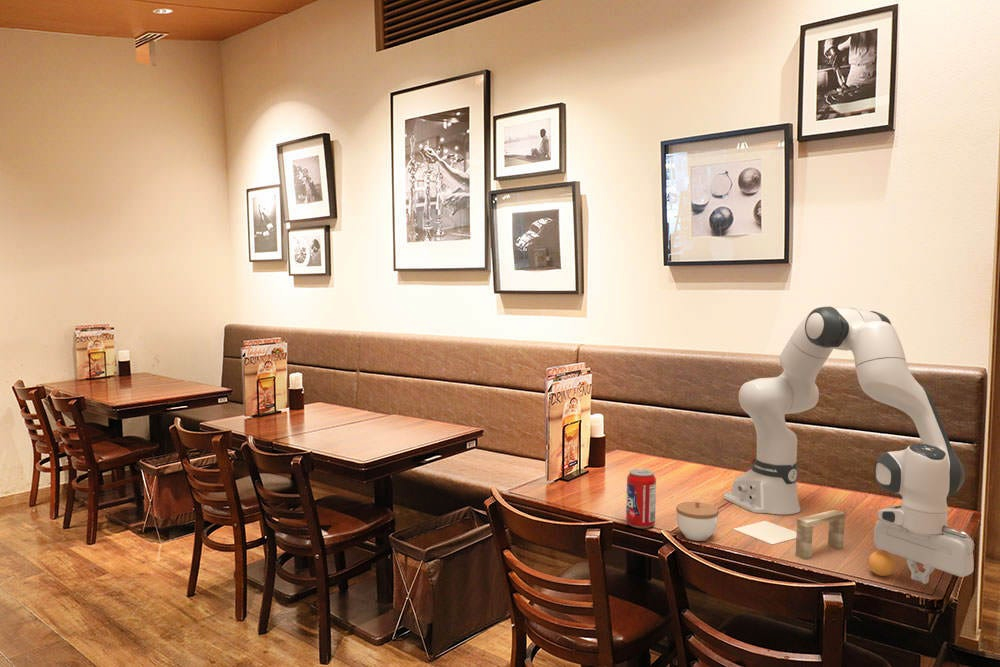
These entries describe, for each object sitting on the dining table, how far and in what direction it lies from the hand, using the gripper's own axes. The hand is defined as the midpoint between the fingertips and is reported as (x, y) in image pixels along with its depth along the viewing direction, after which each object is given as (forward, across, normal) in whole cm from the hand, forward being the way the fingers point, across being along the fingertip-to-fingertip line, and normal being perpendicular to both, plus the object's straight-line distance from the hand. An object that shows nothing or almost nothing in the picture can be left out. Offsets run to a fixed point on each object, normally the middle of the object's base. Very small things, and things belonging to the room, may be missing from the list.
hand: (919, 581), depth 160 cm
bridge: (+2, +25, 0) cm, 25 cm away
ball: (-1, +9, 0) cm, 9 cm away
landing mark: (+2, +40, 0) cm, 40 cm away
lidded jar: (+2, +48, +19) cm, 51 cm away
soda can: (+2, +62, +26) cm, 67 cm away
